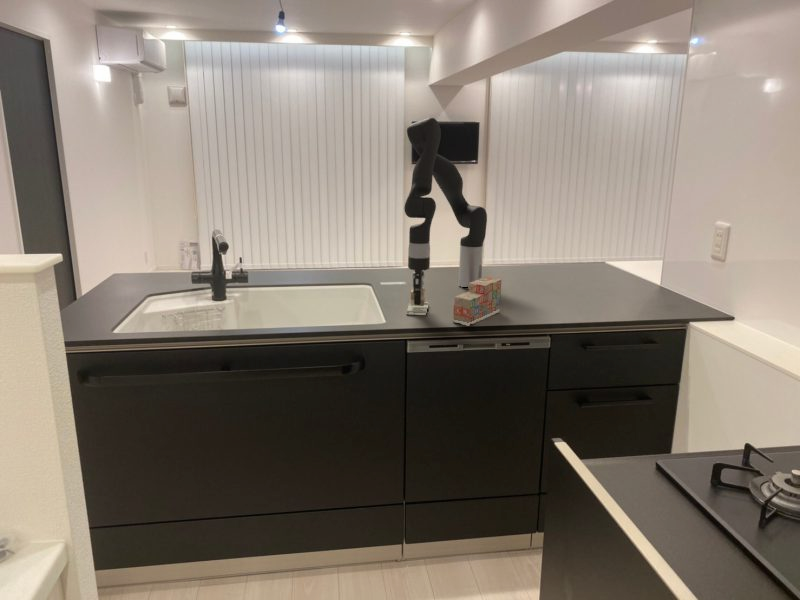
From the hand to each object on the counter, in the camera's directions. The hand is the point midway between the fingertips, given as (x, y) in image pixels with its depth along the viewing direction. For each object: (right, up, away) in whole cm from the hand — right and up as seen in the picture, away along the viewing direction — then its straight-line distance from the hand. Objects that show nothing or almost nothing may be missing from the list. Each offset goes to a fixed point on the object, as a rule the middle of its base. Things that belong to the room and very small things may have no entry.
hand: (417, 302), depth 209 cm
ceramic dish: (0, -3, +1) cm, 3 cm away
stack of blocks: (+20, -6, -6) cm, 22 cm away
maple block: (0, -1, 0) cm, 1 cm away
